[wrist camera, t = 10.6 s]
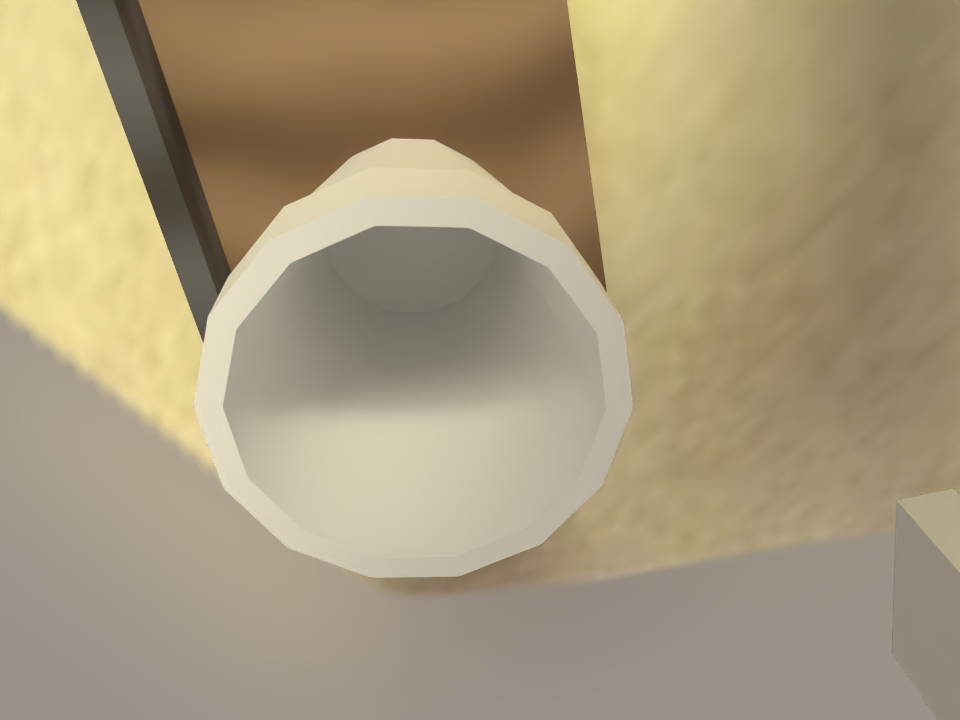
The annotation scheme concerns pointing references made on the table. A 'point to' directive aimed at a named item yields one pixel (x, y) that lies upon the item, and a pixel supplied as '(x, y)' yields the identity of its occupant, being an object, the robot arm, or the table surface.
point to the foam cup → (413, 370)
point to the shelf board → (334, 107)
